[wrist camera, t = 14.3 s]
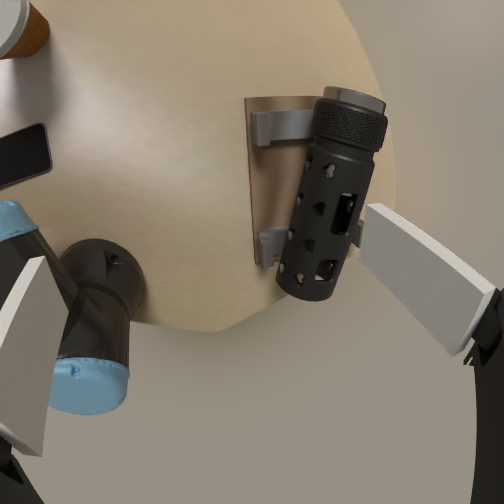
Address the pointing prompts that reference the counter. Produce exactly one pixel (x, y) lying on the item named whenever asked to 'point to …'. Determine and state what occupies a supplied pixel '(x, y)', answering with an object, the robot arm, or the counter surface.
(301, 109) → the mounting board
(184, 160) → the counter surface
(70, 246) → the robot arm
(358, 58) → the counter surface
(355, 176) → the muzzle brake
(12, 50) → the disposable coffee cup
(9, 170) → the smartphone
